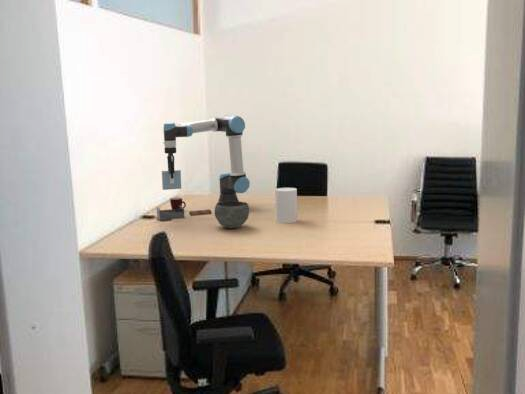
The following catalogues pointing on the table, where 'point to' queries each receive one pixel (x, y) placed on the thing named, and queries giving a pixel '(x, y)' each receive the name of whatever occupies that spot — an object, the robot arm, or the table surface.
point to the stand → (200, 212)
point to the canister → (286, 205)
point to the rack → (170, 213)
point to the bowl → (231, 213)
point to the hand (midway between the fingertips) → (171, 183)
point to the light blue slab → (166, 180)
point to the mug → (176, 202)
